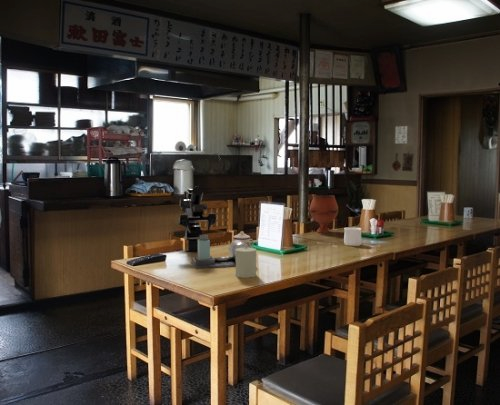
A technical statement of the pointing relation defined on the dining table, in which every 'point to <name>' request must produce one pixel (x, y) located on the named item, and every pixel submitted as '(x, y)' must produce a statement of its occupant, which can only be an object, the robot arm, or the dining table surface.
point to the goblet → (323, 211)
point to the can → (245, 262)
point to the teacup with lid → (243, 238)
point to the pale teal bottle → (203, 248)
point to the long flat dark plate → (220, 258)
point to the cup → (352, 236)
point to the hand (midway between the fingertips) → (199, 232)
